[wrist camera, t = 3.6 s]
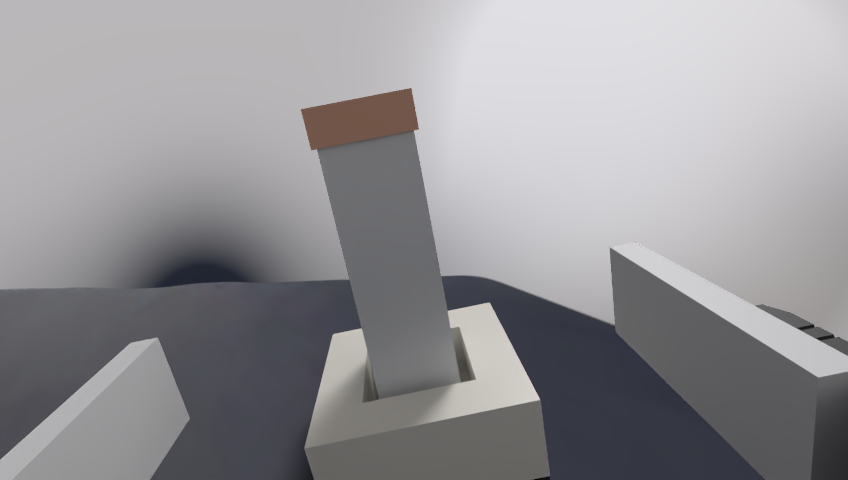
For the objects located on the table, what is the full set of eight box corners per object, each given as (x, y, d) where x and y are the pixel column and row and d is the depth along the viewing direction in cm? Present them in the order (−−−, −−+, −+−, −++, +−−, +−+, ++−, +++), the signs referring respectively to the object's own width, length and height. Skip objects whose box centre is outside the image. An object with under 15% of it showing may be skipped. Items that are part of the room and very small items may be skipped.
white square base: (327, 522, 20) (304, 448, 19) (347, 388, 29) (333, 334, 28) (550, 475, 20) (540, 399, 19) (498, 357, 30) (489, 302, 29)
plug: (386, 445, 22) (301, 109, 18) (386, 392, 27) (318, 109, 22) (473, 427, 22) (411, 88, 18) (460, 377, 27) (407, 92, 22)
